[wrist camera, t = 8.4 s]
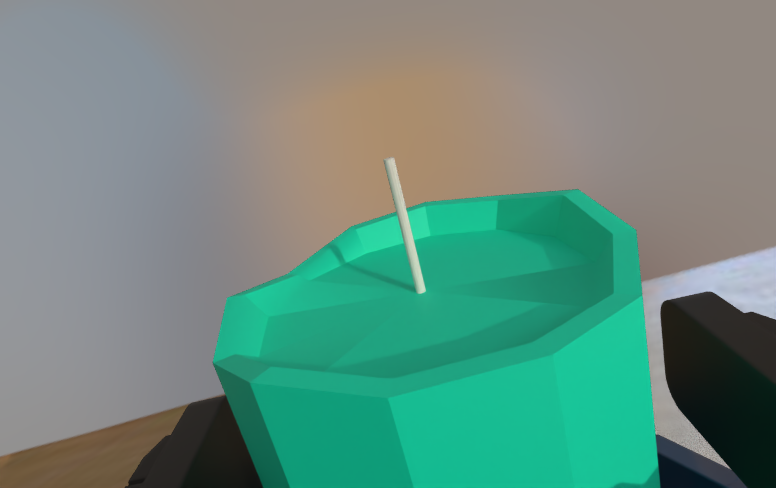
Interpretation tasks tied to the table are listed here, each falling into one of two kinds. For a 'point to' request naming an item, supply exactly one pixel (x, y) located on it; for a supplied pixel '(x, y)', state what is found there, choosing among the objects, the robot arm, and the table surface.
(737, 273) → the table surface
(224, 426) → the robot arm
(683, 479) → the dish
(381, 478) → the candle
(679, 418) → the table surface
